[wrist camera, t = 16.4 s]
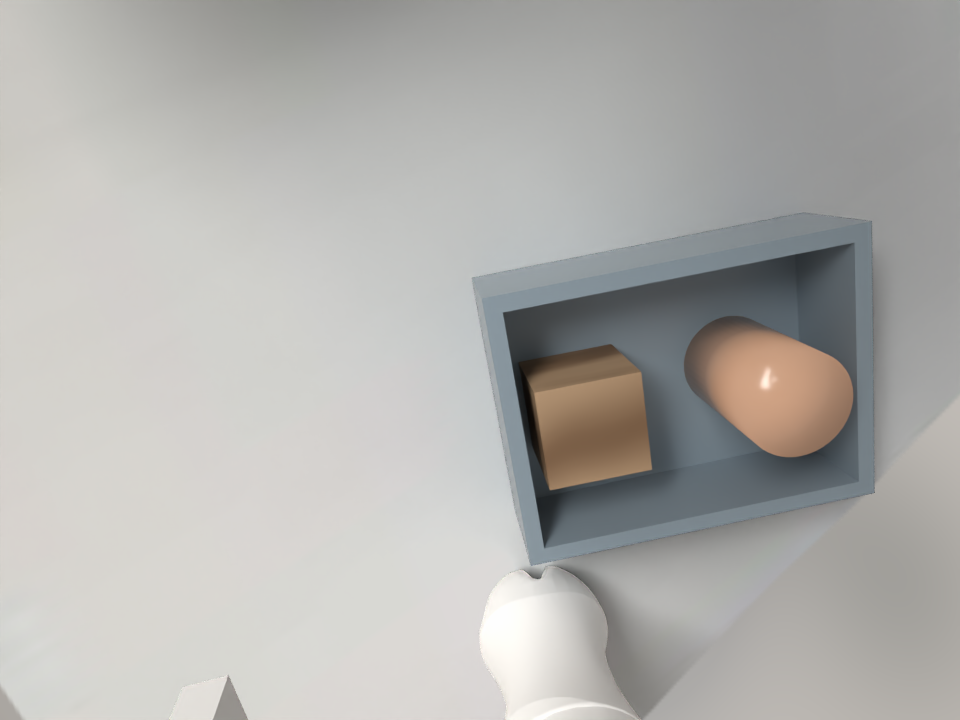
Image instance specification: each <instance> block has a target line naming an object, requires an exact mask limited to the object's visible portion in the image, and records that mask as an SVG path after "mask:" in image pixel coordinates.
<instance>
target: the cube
mask: <svg viewBox="0 0 960 720" xmlns="http://www.w3.org/2000/svg"><path fill="white" fill-rule="evenodd" d="M518 363H519V369H520V375H521V381H522V387H523V393H524V399H525V405H526V411H527V417H528V423H529V429H530V435H531V441H532V447H533V450H534V452H535V455H536V457H537V460H538V462H539V465H540V467H541V470H542V472H543V474H544V477H545V479H546V482H547V484H548V487H549V489H550V490H555V489H559V488H564V487H569V486H574V485H579V484H584V483H589V482H594V481H599V480H604V479H609V478H614V477H618V476H623V475H628V474H633V473H638V472H643V471H648V470H652V464H651V455H650V446H649V437H648V428H647V419H646V410H645V401H644V392H643V383H642V374H641V371H640V370H639V369H638V368H637V367H635V366H634V365H633V364H632V363H631V362H630V361H629V360H628V359H627V358H626V357H625V356H624V355H623V354H621V353H620V352H619V351H618V350H617V349H616V348H615V347H614V346H613V345H612V344H608V345H603V346H598V347H593V348H588V349H582V350H577V351H572V352H567V353H562V354H557V355H552V356H547V357H542V358H537V359H532V360H526V361H521V362H518Z"/></svg>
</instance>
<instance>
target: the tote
mask: <svg viewBox="0 0 960 720" xmlns="http://www.w3.org/2000/svg"><path fill="white" fill-rule="evenodd" d="M472 282H473V288H474V293H475V298H476V304H477V309H478V314H479V320H480V325H481V330H482V336H483V341H484V346H485V352H486V357H487V362H488V368H489V373H490V378H491V384H492V389H493V394H494V400H495V405H496V410H497V416H498V421H499V427H500V432H501V437H502V443H503V448H504V453H505V459H506V464H507V469H508V475H509V480H510V485H511V491H512V496H513V501H514V507H515V512H516V515H517V519H518V522H519V526H520V529H521V533H522V536H523V540H524V543H525V547H526V550H527V554H528V557H529V561H530V564H531V566H533V565H538V564H542V563H547V562H552V561H556V560H561V559H566V558H570V557H575V556H580V555H585V554H589V553H594V552H599V551H603V550H608V549H613V548H618V547H622V546H627V545H632V544H636V543H641V542H646V541H650V540H655V539H660V538H665V537H669V536H674V535H679V534H683V533H688V532H693V531H698V530H702V529H707V528H712V527H716V526H721V525H726V524H730V523H735V522H740V521H745V520H749V519H754V518H759V517H763V516H768V515H773V514H778V513H782V512H787V511H792V510H796V509H801V508H806V507H810V506H815V505H820V504H825V503H829V502H834V501H839V500H843V499H848V498H853V497H858V496H862V495H867V494H872V493H875V492H874V394H873V296H872V221H866V220H858V219H850V218H842V217H834V216H826V215H818V214H810V213H799V214H794V215H789V216H784V217H779V218H774V219H769V220H763V221H758V222H753V223H748V224H743V225H738V226H733V227H728V228H723V229H718V230H713V231H708V232H703V233H697V234H692V235H687V236H682V237H677V238H672V239H667V240H662V241H657V242H652V243H647V244H642V245H636V246H631V247H626V248H621V249H616V250H611V251H606V252H601V253H596V254H591V255H586V256H581V257H576V258H570V259H565V260H560V261H555V262H550V263H545V264H540V265H535V266H530V267H525V268H520V269H515V270H509V271H504V272H499V273H494V274H489V275H484V276H479V277H474V278H472ZM726 316H743V317H747V318H750V319H752V320H754V321H756V322H758V323H761V324H763V325H765V326H767V327H769V328H771V329H774V330H776V331H778V332H780V333H782V334H784V335H787V336H789V337H791V338H793V339H795V340H797V341H799V342H802V343H804V344H806V345H808V346H810V347H812V348H815V349H817V350H819V351H821V352H823V353H825V354H828V355H830V356H832V357H833V358H835V359H836V360H837V361H839V362H840V363H841V364H842V365H843V367H844V368H845V369H846V371H847V372H848V374H849V376H850V379H851V382H852V386H853V404H852V409H851V412H850V415H849V417H848V419H847V421H846V423H845V425H844V426H843V428H842V429H841V431H840V432H839V433H838V434H837V435H836V437H835V438H834V439H833V440H831V441H830V442H829V443H828V444H827V445H825V446H824V447H822V448H820V449H819V450H817V451H815V452H812V453H810V454H807V455H803V456H798V457H781V456H777V455H773V454H771V453H768V452H766V451H765V450H763V449H762V448H760V447H759V446H758V445H757V444H755V443H754V442H753V441H752V440H751V439H749V438H748V437H747V436H746V435H745V434H743V433H742V432H741V431H740V430H738V429H737V428H736V427H735V426H734V425H732V424H731V423H730V422H729V421H728V420H726V419H725V418H724V417H723V416H722V415H720V414H719V413H718V412H717V411H715V410H714V409H713V408H712V407H711V406H709V405H708V404H707V403H706V402H705V401H703V400H702V399H701V398H700V397H698V396H697V395H696V394H695V393H694V392H693V391H692V390H691V388H690V387H689V385H688V383H687V381H686V377H685V373H684V358H685V354H686V351H687V348H688V346H689V344H690V342H691V340H692V339H693V337H694V336H695V335H696V334H697V333H698V331H699V330H701V329H702V328H703V327H704V326H705V325H707V324H708V323H710V322H712V321H714V320H716V319H719V318H722V317H726ZM608 344H612V345H613V346H614V347H615V348H616V349H617V350H618V351H619V352H620V353H621V354H623V355H624V356H625V357H626V358H627V359H628V360H629V361H630V362H631V363H632V364H633V365H634V366H635V367H637V368H638V369H639V370H640V371H641V374H642V383H643V392H644V401H645V410H646V419H647V428H648V437H649V446H650V455H651V464H652V470H648V471H643V472H638V473H633V474H628V475H623V476H618V477H614V478H609V479H604V480H599V481H594V482H589V483H584V484H579V485H574V486H569V487H564V488H559V489H555V490H550V489H549V487H548V484H547V482H546V479H545V477H544V474H543V472H542V470H541V467H540V465H539V462H538V460H537V457H536V455H535V452H534V450H533V447H532V441H531V435H530V429H529V423H528V417H527V411H526V405H525V399H524V393H523V387H522V381H521V375H520V369H519V363H518V362H521V361H526V360H532V359H537V358H542V357H547V356H552V355H557V354H562V353H567V352H572V351H577V350H582V349H588V348H593V347H598V346H603V345H608Z"/></svg>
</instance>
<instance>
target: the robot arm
mask: <svg viewBox="0 0 960 720" xmlns="http://www.w3.org/2000/svg"><path fill="white" fill-rule="evenodd" d="M169 720H248V718H247V716H246V714H245V712H244V709H243V707H242V705H241V703H240V700H239V698H238V696H237V694H236V691H235V689H234V687H233V685H232V682H231V680H230V678H229V676H228V675H227V676H223V677H219V678H215V679H211V680H207V681H203V682H200V683H196V684H192V685H188V686H184V687H182V690H181V692H180V694H179V697H178V699H177V701H176V704H175V706H174V709H173V711H172V713H171V716H170V718H169Z"/></svg>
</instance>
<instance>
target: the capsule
mask: <svg viewBox="0 0 960 720" xmlns="http://www.w3.org/2000/svg"><path fill="white" fill-rule="evenodd" d="M684 373H685V377H686V381H687V383H688V385H689V387H690V388H691V390H692V391H693V392H694V393H695V394H696V395H697V396H698V397H700V398H701V399H702V400H703V401H705V402H706V403H707V404H708V405H709V406H711V407H712V408H713V409H714V410H715V411H717V412H718V413H719V414H720V415H722V416H723V417H724V418H725V419H726V420H728V421H729V422H730V423H731V424H732V425H734V426H735V427H736V428H737V429H738V430H740V431H741V432H742V433H743V434H745V435H746V436H747V437H748V438H749V439H751V440H752V441H753V442H754V443H755V444H757V445H758V446H759V447H760V448H762V449H763V450H765V451H766V452H768V453H771V454H773V455H777V456H781V457H798V456H803V455H807V454H810V453H812V452H815V451H817V450H819V449H820V448H822V447H824V446H825V445H827V444H828V443H829V442H830V441H831V440H833V439H834V438H835V437H836V435H837V434H838V433H839V432H840V431H841V429H842V428H843V426H844V425H845V423H846V421H847V419H848V417H849V415H850V412H851V409H852V404H853V386H852V382H851V379H850V376H849V374H848V372H847V371H846V369H845V368H844V367H843V365H842V364H841V363H840V362H839V361H837V360H836V359H835V358H833V357H832V356H830V355H828V354H825V353H823V352H821V351H819V350H817V349H815V348H812V347H810V346H808V345H806V344H804V343H802V342H799V341H797V340H795V339H793V338H791V337H789V336H787V335H784V334H782V333H780V332H778V331H776V330H774V329H771V328H769V327H767V326H765V325H763V324H761V323H758V322H756V321H754V320H752V319H750V318H747V317H743V316H726V317H722V318H719V319H716V320H714V321H712V322H710V323H708V324H707V325H705V326H704V327H703V328H702V329H701V330H699V331H698V333H697V334H696V335H695V336H694V337H693V339H692V340H691V342H690V344H689V346H688V348H687V351H686V354H685V358H684Z"/></svg>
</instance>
